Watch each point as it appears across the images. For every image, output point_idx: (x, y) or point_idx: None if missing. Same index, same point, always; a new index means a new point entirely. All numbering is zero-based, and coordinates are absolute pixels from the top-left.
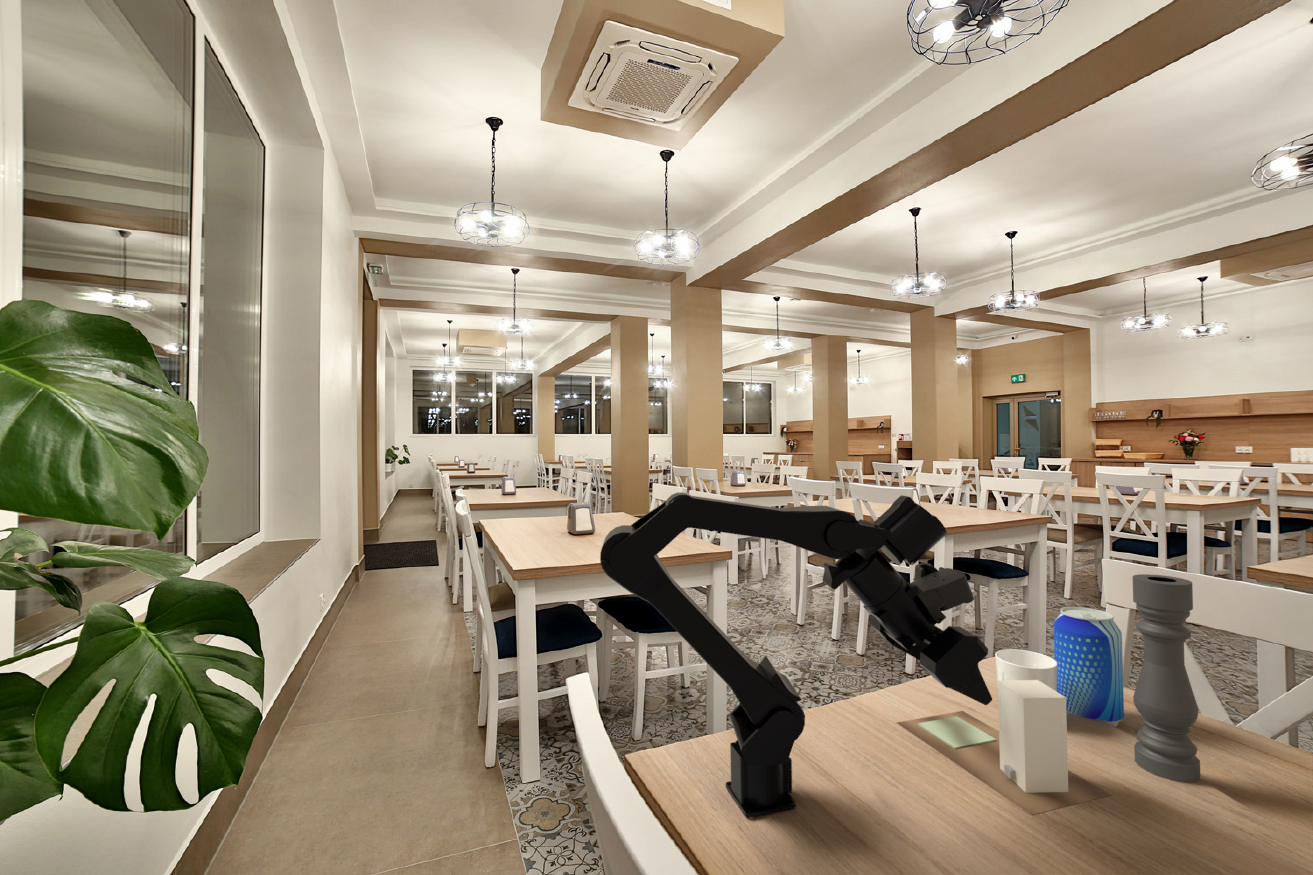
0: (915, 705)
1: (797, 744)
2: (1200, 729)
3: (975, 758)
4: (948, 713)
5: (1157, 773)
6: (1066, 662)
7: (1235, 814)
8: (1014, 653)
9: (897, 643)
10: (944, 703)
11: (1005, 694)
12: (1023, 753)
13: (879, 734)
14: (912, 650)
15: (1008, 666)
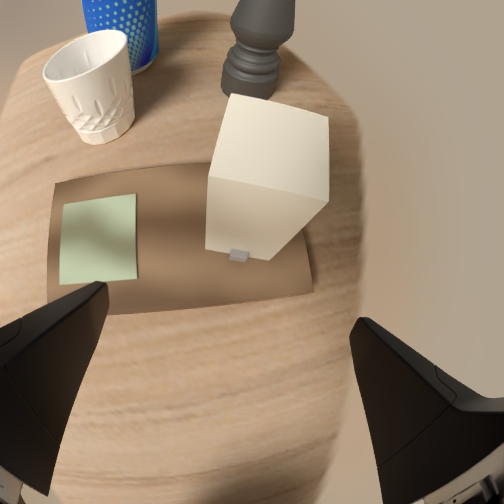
0: (11, 228)
1: (78, 471)
2: (187, 22)
3: (171, 266)
4: (51, 209)
5: (261, 92)
6: (112, 25)
7: (302, 91)
8: (58, 57)
9: (42, 484)
10: (24, 184)
11: (242, 195)
12: (281, 244)
13: None
14: (53, 427)
15: (78, 81)
